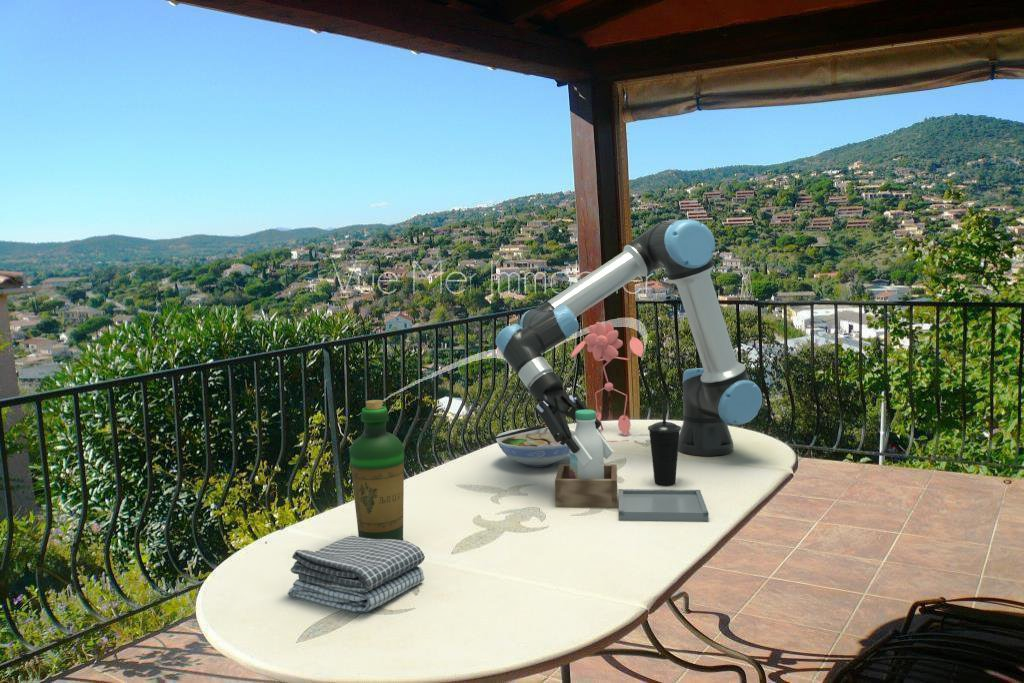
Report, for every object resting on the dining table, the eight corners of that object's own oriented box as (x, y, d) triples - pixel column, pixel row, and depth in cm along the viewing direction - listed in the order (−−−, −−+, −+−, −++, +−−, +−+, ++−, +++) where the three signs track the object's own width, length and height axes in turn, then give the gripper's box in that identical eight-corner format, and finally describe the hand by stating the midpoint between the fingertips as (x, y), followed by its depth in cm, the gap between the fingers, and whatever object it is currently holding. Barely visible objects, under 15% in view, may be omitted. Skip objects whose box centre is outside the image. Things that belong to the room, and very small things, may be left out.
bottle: (362, 557, 145) (354, 408, 142) (346, 540, 154) (339, 400, 152) (416, 546, 150) (410, 402, 147) (398, 530, 159) (391, 394, 156)
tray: (700, 497, 174) (699, 489, 174) (708, 521, 159) (708, 512, 158) (618, 496, 177) (618, 489, 176) (619, 520, 161) (618, 511, 161)
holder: (617, 489, 182) (616, 464, 182) (617, 507, 169) (616, 480, 169) (559, 489, 184) (559, 464, 184) (555, 507, 171) (554, 480, 170)
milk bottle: (607, 494, 179) (606, 408, 177) (600, 504, 172) (598, 414, 170) (575, 491, 182) (573, 407, 179) (566, 501, 174) (564, 413, 172)
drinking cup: (679, 478, 189) (678, 397, 187) (683, 488, 182) (682, 403, 180) (647, 478, 190) (646, 398, 188) (649, 488, 183) (648, 403, 181)
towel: (371, 620, 120) (368, 570, 119) (284, 598, 129) (281, 552, 128) (428, 583, 133) (426, 538, 132) (346, 565, 142) (343, 523, 141)
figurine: (581, 426, 252) (577, 318, 248) (653, 435, 237) (651, 320, 233) (555, 436, 240) (550, 323, 236) (630, 446, 225) (626, 325, 220)
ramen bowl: (533, 481, 191) (532, 448, 190) (475, 465, 208) (473, 435, 208) (602, 461, 208) (601, 431, 207) (543, 448, 225) (542, 420, 224)
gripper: (560, 385, 192) (615, 459, 183) (503, 397, 177) (561, 479, 168) (576, 365, 188) (634, 440, 179) (520, 376, 173) (580, 458, 164)
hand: (598, 458), depth 173 cm, fingers closed on milk bottle, 7 cm apart
